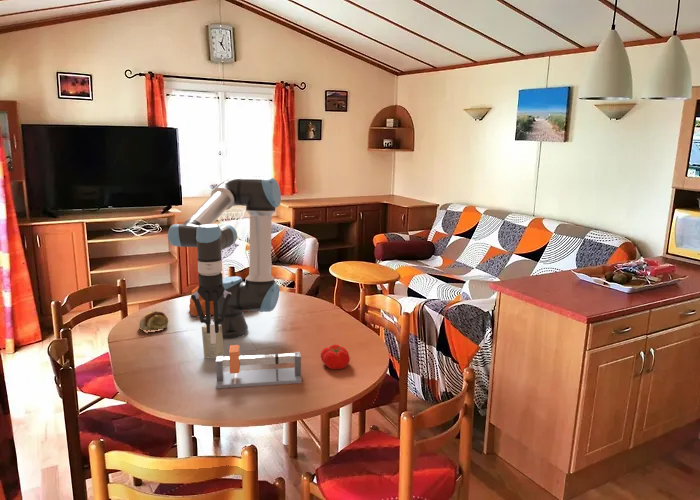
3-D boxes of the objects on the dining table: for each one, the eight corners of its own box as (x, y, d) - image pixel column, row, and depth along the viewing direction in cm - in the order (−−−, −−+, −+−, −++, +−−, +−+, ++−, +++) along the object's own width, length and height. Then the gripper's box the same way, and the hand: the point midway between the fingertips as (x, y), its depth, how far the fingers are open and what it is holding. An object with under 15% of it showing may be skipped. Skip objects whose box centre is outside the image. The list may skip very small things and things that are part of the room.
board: (216, 388, 177) (216, 385, 177) (218, 374, 187) (218, 371, 187) (301, 382, 182) (301, 379, 181) (299, 369, 191) (299, 367, 191)
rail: (216, 381, 180) (215, 360, 178) (217, 376, 184) (216, 355, 182) (301, 376, 184) (300, 355, 183) (300, 371, 188) (299, 351, 186)
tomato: (328, 373, 189) (328, 356, 187) (317, 361, 198) (317, 344, 197) (353, 369, 192) (354, 352, 191) (342, 357, 202) (342, 340, 201)
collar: (230, 373, 179) (229, 352, 177) (231, 365, 185) (230, 345, 183) (239, 373, 179) (238, 351, 178) (239, 365, 185) (239, 344, 184)
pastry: (152, 335, 222) (151, 317, 220) (131, 330, 227) (129, 312, 226) (178, 325, 234) (177, 307, 232) (157, 320, 239) (156, 303, 238)
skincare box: (224, 355, 203) (222, 324, 200) (217, 359, 199) (216, 328, 196) (209, 352, 205) (207, 322, 202) (202, 357, 201) (201, 326, 198)
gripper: (187, 276, 169) (191, 347, 174) (230, 275, 171) (232, 345, 176) (190, 270, 176) (194, 338, 181) (231, 269, 178) (234, 336, 183)
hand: (213, 341), depth 179 cm, fingers closed
